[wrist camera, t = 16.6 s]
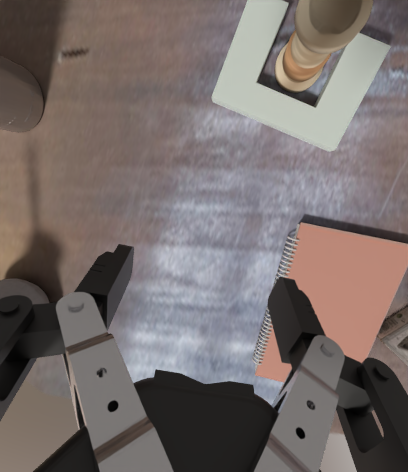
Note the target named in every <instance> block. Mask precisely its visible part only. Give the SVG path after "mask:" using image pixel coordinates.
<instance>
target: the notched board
mask: <svg viewBox="0 0 408 472" xmlns="http://www.w3.org/2000/svg"><path fill="white" fill-rule="evenodd" d="M288 4H289V3H287V2H285V1H282V0H248V1H247V4H246V6H245V9H244V12H243V14H242V17H241V20H240V22H239V25H238V28H237V30H236V33H235V36H234V38H233V41H232V44H231V47H230V49H229V52H228V55H227V57H226V60H225V63H224V65H223V68H222V71H221V73H220V76H219V79H218V81H217V84H216V87H215V89H214V92H213V95H212V101H213V102H214V103H216V104H218V105H221V106H223V107H225V108H228V109H230V110H232V111H235V112H237V113H239V114H242V115H244V116H246V117H249V118H251V119H254V120H256V121H258V122H261V123H263V124H265V125H268V126H270V127H272V128H275V129H277V130H279V131H282V132H284V133H286V134H289V135H291V136H293V137H296V138H298V139H300V140H303V141H305V142H307V143H310V144H312V145H314V146H317V147H319V148H321V149H324V150H326V151H328V152H330V151H334V150H335V149H336V147H337V145H338V144H339V142H340V140H341V138H342V136H343V134H344V132H345V131H346V129H347V127H348V125H349V123H350V121H351V119H352V118H353V116H354V114H355V112H356V110H357V108H358V106H359V105H360V103H361V101H362V99H363V97H364V95H365V93H366V92H367V90H368V88H369V86H370V84H371V82H372V80H373V79H374V77H375V75H376V73H377V71H378V69H379V67H380V66H381V64H382V62H383V60H384V58H385V56H386V54H387V53H388V51H389V49H390V47H391V46H389V45H387V44H385V43H382V42H380V41H378V40H375V39H373V38H370V37H368V36H366V35H363V34H361V33H358V34H357V35H356V36H355V37H354V39H353V40H352V41H351V42H350V43H349V44H348V45H346V46H345V47H344V48H342V50H341V52H340V54H339V56H338V58H337V60H336V62H335V64H334V66H333V68H332V70H331V72H330V74H329V76H328V78H327V80H326V82H325V84H324V87H323V89H322V91H321V93H320V95H319V97H318V99H317V101H316V103H315V105H314V107H312V106H310V105H308V104H305V103H303V102H301V101H298V100H296V99H294V98H291V97H289V96H287V95H284V94H282V93H279V92H277V91H275V90H272V89H270V88H268V87H265V86H263V85H261V84H258V83H257V81H258V79H259V76H260V74H261V72H262V69H263V67H264V64H265V62H266V60H267V57H268V55H269V52H270V50H271V48H272V45H273V43H274V40H275V38H276V35H277V33H278V31H279V28H280V26H281V23H282V21H283V19H284V16H285V14H286V11H287V8H288Z"/></svg>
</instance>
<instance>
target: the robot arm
mask: <svg viewBox="0 0 408 472" xmlns="http://www.w3.org/2000/svg"><path fill="white" fill-rule="evenodd" d="M42 112H43V96H42V92H41V88H40V86H39V84H38V82H37V80H36V79H35V78H34V76H33V75H32V74H31V73H30V72H29V71H28V70H27V69H25V68H24V67H22V66H20V65H18V64H16V63H14V62H12V61H10V60H8V59H6V58H4V57H2V56H0V129H2V130H7V131H13V132H26V131H29V130H30V129H32V128H34V127H35V126H36V124H37V123H38V122H39V120H40V118H41V115H42ZM133 255H134V247H131V246H126V245H121V244H119V245H118V246H117V248H116V250H115V251H114V253H112V252H105V253H103V254H102V255H100V256H99V257H98V258H97V260H96V261H95V262H94V265H92V267H91V268H90V271H88V273H87V274H86V275H85V277H84V278H83V280H82V281H81V283H80V284H79V286H78V287H77V289H76V290H75V291H74V292H73V293H70V294H67V295H65V296H64V297H62V298H61V299H60V300H59V301H58V302H55V303H45V304H32V301H31V299H29V298H28V297H26V296H22V295H12V296H7V297H4V298H1V299H0V421H1V419H2V417H3V416H4V414H5V412H6V410H7V408H8V407H9V405H10V403H11V402H12V400H13V398H14V397H15V395H16V393H17V392H18V390H19V388H20V386H21V385H22V383H23V381H24V380H25V378H26V376H27V374H28V373H29V371H30V369H31V368H32V366H33V364H34V362H35V361H36V359H37V358H39V357H46V356H53V355H60V354H62V356H63V360H64V364H65V369H66V373H67V377H68V381H69V386H70V390H71V395H72V400H73V405H74V410H75V415H76V419H77V423H78V428H79V430H78V431H77V432H76V433H75V434H74V435H73V436H72V437H71V438H70V439H69V440H67V441H66V442H65V443H64V444H63V445H62V446H61V447H60V448H59V449H57V450H56V451H55V452H54V453H53V454H52V455H51V456H50V457H49V458H47V459H46V460H45V461H44V462H43V463H42V464H41V465H40V466H39V467H38V468H36V469H35V470H34V471H33V472H321V470H320V469H319V468H320V465H321V461H322V458H323V454H324V450H325V447H326V443H327V439H328V436H329V432H330V428H331V425H332V421H333V418H334V414H335V410H337V413H338V416H339V419H340V422H341V425H342V428H343V431H344V434H345V437H346V440H347V443H348V446H349V449H350V452H351V455H352V458H353V461H354V464H355V467H356V470H357V472H408V395H407V393H406V391H405V390H404V388H403V386H402V385H401V383H400V381H399V380H398V378H397V376H396V375H395V373H394V372H393V371H392V370H391V369H390V368H389V367H388V366H387V365H386V364H384V363H383V362H381V361H379V360H377V359H375V358H366V359H365V360H364V361H363V362H362V363H361V362H359V361H356V360H354V359H352V358H350V357H348V356H346V355H344V353H343V351H342V349H341V348H340V346H339V345H338V344H337V343H336V342H335V341H333V340H332V339H330V338H328V337H326V335H325V333H324V330H323V328H322V326H321V324H320V322H319V320H318V317H317V315H316V314H315V311H314V309H313V307H312V304H311V302H310V300H309V298H308V297H307V296H306V294H305V293H304V292H303V291H302V290H299V289H298V286H297V284H296V282H295V280H294V279H289V278H284V277H279V278H278V280H277V282H276V284H275V286H274V288H273V290H272V292H271V294H270V296H269V298H268V309H269V313H270V317H271V321H272V325H273V329H274V333H275V337H276V341H277V345H278V349H279V353H280V357H281V361H282V363H287V364H291V367H292V369H291V370H290V372H289V374H288V376H287V378H286V379H285V381H284V383H283V385H282V387H281V389H280V391H279V393H278V395H277V397H276V399H275V400H274V402H273V404H272V406H271V405H270V404H269V403H268V402H267V401H265V400H264V399H263V398H261V397H259V396H258V395H256V394H254V388H253V385H250V384H244V383H237V382H231V381H228V382H220V383H212V384H203V383H201V382H198V381H196V380H194V379H192V378H189V377H187V376H185V375H183V374H180V373H174V372H168V371H162V370H156V371H155V375H154V377H153V378H147V379H143V380H140V381H138V382H135V383H133V382H132V379H131V377H130V375H129V372H128V370H127V367H126V365H125V363H124V360H123V358H122V355H121V353H120V351H119V348H118V346H117V343H116V341H115V339H114V337H113V335H112V334H108V332H107V330H108V328H109V326H110V324H111V321H112V319H113V317H114V315H115V312H116V310H117V308H118V305H119V303H120V301H121V299H122V296H123V294H124V292H125V290H126V287H127V285H128V283H129V280H130V277H131V273H132V266H133ZM373 410H375V412H376V415H377V417H378V419H379V421H380V423H381V426H382V428H383V432H384V438H383V437H382V435H381V433H380V430H379V428H378V426H377V424H376V421H375V419H374V417H373V415H372V412H371V411H373Z"/></svg>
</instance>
